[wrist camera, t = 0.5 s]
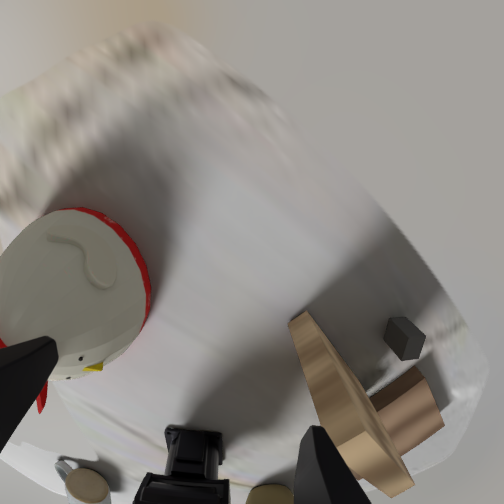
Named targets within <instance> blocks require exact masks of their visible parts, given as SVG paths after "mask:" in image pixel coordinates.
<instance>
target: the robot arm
mask: <svg viewBox="0 0 504 504" xmlns="http://www.w3.org/2000/svg"><path fill="white" fill-rule="evenodd" d="M58 359H59V355H58V350H57V344H56V341H55V340H54V339H53V338H51V337H49V336H42V337H38V338H35V339H32V340H28V341H25V342H21V343H18V344H15V345H11V346H8V347H4V348H1V349H0V453H1V451H2V450H3V448H4V446H5V445H6V443H7V442H8V440H9V438H10V437H11V435H12V434H13V432H14V431H15V429H16V427H17V426H18V425H19V423H20V422H21V420H22V418H23V417H24V416H25V414H26V413H27V411H28V410H29V408H30V407H31V405H32V404H33V402H34V401H35V400H36V398H37V397H38V395H39V394H40V392H41V391H42V389H43V387H44V385H45V384H46V382H47V380H48V378H49V376H50V375H51V373H52V371H53V369H54V368H55V366H56V364H57V362H58ZM164 433H165V438H166V443H167V448H168V453H169V454H168V459H167V464H166V469H165V474H164V475H158V474H153V473H150V472H147V474H146V476H145V477H144V479H143V481H142V483H141V485H140V487H139V489H138V491H137V494H136V496H135V498H134V501H133V504H231V503H230V484H229V479H224V480H218V465H222V434H221V433H217V432H202V431H190V430H180V429H171V428H166V429H165V432H164ZM217 436H219V437H217ZM294 504H371V502H370V500H369V499H368V497H367V495H366V494H365V492H364V491H363V489H362V488H361V486H360V485H359V483H358V481H357V480H356V478H355V477H354V475H353V473H352V472H351V470H350V469H349V467H348V466H347V464H346V462H345V461H344V459H343V457H342V456H341V454H340V453H339V451H338V449H337V448H336V446H335V445H334V443H333V441H332V440H331V438H330V436H329V435H328V433H327V432H326V430H325V428H324V427H322V426H315V425H312V426H310V427H309V429H308V430H307V432H306V433H305V435H304V436H303V438H302V440H301V443H300V449H299V455H298V462H297V469H296V475H295V482H294Z"/></svg>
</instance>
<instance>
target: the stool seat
mask: <svg viewBox="0 0 504 504" xmlns="http://www.w3.org/2000/svg"><path fill="white" fill-rule="evenodd" d="M369 399H370V401H371V403H372V404H373V406H374V408H375V410H376V412H377V414H378V416H379V418H380V419H381V421H382V423H383V425H384V427H385V429H386V430H387V432H388V434H389V436H390V438H391V440H392V442H393V443H394V445H395V447H396V449H397V451H398V453H399V455H400V457H401V456H402V455H404V454H405V453H407V452H408V451H410V450H411V449H413V448H414V447H416V446H417V445H419V444H420V443H422V442H423V441H425V440H426V439H427V438H429V437H430V436H432V435H433V434H434V433H436V432H437V431H438V430H440V429H441V428H442V427H444V426H445V425H444V422H443V419H442V417H441V414H440V412H439V409H438V407H437V405H436V402H435V400H434V397H433V395H432V393H431V390H430V388H429V386H428V383H427V381H426V379H425V377H424V376H423V375H422V374H421V372H420V371H419V370H418V369H417V368H416V367H415V366H413V367H412V368H411V369H410V370H408V371H407V372H406V373H404V374H403V375H402V376H400V377H399V378H398V379H396V380H395V381H394V382H392V383H391V384H389V385H388V386H387V387H385V388H384V389H382V390H381V391H379V392H378V393H376V394H375V395H373V396H372V397H371V398H369ZM349 469H350V470H351V472H352V473H353V475H354V477H355V478H356V479H357V480H360V479H362V478H363V477H361V476H360V475H359V474H357V473H356V472H355V471H353V470H352V469H351V468H350V467H349Z"/></svg>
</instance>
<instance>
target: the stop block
mask: <svg viewBox="0 0 504 504" xmlns="http://www.w3.org/2000/svg"><path fill="white" fill-rule="evenodd" d="M425 338H426V335H425V334H424V333H423V332H421V331H420V330H419V329H418V328H417V327H416V326H415V325H414V324H413V323H412V322H411V321H410V320H408V319H407V318H406V317H400V318H389V321H388V325H387V329H386V333H385V337H384V341H385V342H386V343H387V344H388V345H389V347H390V348H391V349H392V350H393V351H394V353H395V354H396V355H397V356H398V358H399V359H400V360H401V361H405V360H412V359H419V356H420V353H421V350H422V347H423V344H424V341H425Z"/></svg>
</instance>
